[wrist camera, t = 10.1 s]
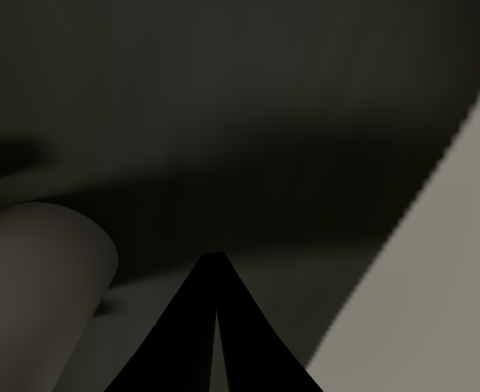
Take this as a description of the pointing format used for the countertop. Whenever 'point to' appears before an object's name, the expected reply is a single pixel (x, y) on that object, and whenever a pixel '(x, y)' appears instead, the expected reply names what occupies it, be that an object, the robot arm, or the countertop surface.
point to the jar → (47, 290)
